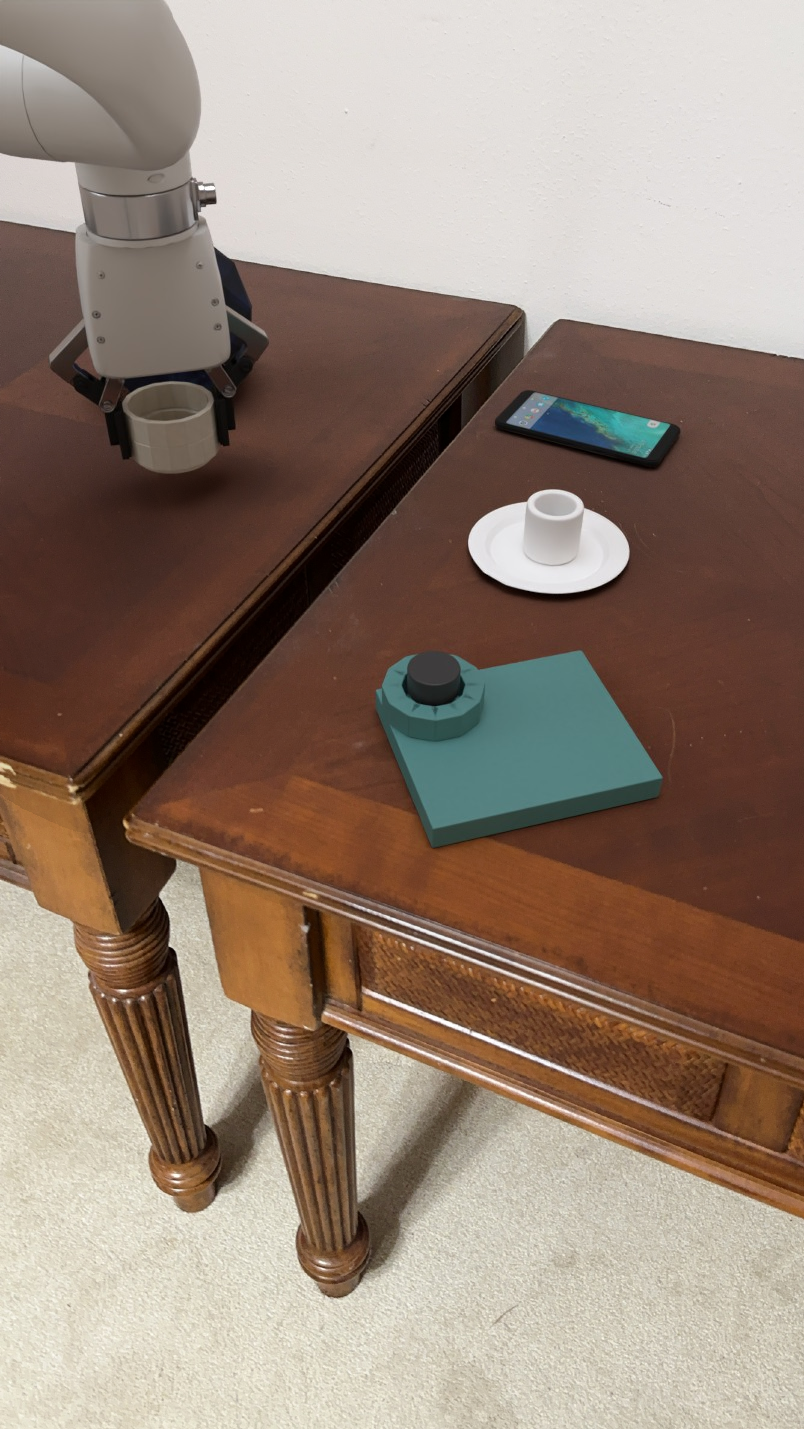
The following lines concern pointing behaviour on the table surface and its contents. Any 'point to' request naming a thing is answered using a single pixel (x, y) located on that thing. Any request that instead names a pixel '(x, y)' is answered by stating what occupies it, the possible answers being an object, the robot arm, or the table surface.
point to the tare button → (433, 678)
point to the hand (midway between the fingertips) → (174, 443)
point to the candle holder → (549, 545)
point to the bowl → (171, 426)
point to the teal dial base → (514, 748)
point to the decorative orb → (242, 305)
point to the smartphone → (589, 427)
